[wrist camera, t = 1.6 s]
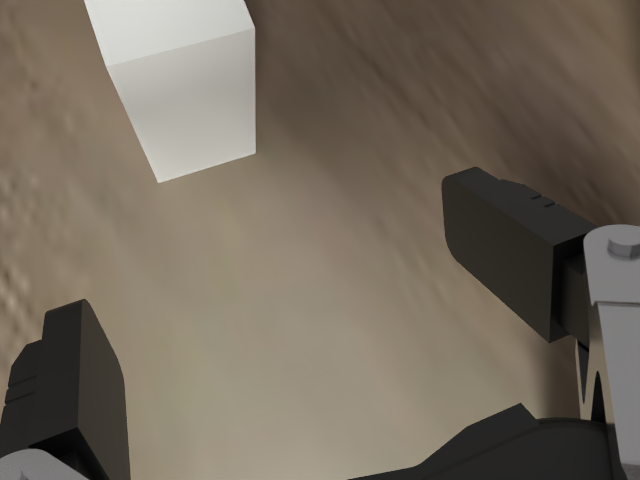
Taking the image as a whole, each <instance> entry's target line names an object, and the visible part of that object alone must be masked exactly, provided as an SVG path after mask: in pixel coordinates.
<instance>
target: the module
mask: <svg viewBox="0 0 640 480" xmlns="http://www.w3.org/2000/svg"><path fill="white" fill-rule="evenodd" d="M84 1H85V4H86V8H87V11H88V14H89V17H90V20H91V23H92V26H93V29H94V32H95V35H96V38H97V41H98V44H99V47H100V50H101V53H102V56H103V59H104V62H105V65H106V68H107V70H108V72H109V74H110V77H111V79H112V81H113V83H114V86H115V88H116V90H117V92H118V94H119V97H120V99H121V101H122V103H123V105H124V108H125V110H126V112H127V114H128V117H129V119H130V121H131V123H132V125H133V128H134V130H135V132H136V134H137V137H138V139H139V141H140V143H141V145H142V148H143V150H144V152H145V154H146V156H147V159H148V161H149V163H150V165H151V168H152V170H153V172H154V174H155V176H156V179H157V181H158V183H161V182H164V181H167V180H170V179H174V178H177V177H180V176H183V175H187V174H190V173H193V172H196V171H200V170H203V169H206V168H210V167H213V166H216V165H219V164H223V163H226V162H229V161H232V160H236V159H239V158H242V157H245V156H249V155H252V154H255V153H256V130H255V27H254V24H253V22H252V19H251V17H250V14H249V12H248V10H247V7H246V5H245V2H244V0H84Z"/></svg>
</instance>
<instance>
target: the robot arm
mask: <svg viewBox="0 0 640 480" xmlns="http://www.w3.org/2000/svg"><path fill="white" fill-rule="evenodd" d="M442 201H443V214H444V227H445V238H446V242H447V245H448V248H449V250H450V252H451V254H452V255H453V257H454V258H455V260H456V261H457V262H459V263H460V264H461V265H462V266H463V267H464V268H465V269H466V270H468V271H469V272H470V273H471V274H472V275H473V276H474V277H475V278H476V279H478V280H479V281H480V282H481V283H482V284H483V285H484V286H485V287H487V288H488V289H489V290H490V291H491V292H492V293H493V294H494V295H496V296H497V297H498V298H499V299H500V300H501V301H502V302H503V303H505V304H506V305H507V306H508V307H509V308H510V309H511V310H512V311H514V312H515V313H516V314H517V315H518V316H519V317H520V318H521V319H523V320H524V321H525V322H526V323H527V324H528V325H529V326H530V327H532V328H533V329H534V330H535V331H536V332H537V333H538V334H539V335H541V336H542V337H543V338H544V339H545V340H546V341H547V342H548V343H551V342H553V341H556V340H558V339H560V338H563V337H565V336H567V335H570V334H571V335H572V336H574V337H575V338H576V346H575V357H576V368H577V380H578V392H579V404H580V416H581V419H577V418H557V417H556V418H542V419H535V418H534V417H533V416H532V415H531V413H530V412H529V411H528V410H527V409H526V408H525V407H524V406H523V405H522V404H521V403H519V404H517V405H515V406H512V407H510V408H508V409H506V410H503V411H501V412H499V413H497V414H494V415H492V416H490V417H488V418H485V419H483V420H481V421H479V422H476V423H474V424H472V425H470V426H467V427H466V428H465V429H463V430H462V431H461V432H460V433H458V434H457V435H456V436H455V437H453V438H452V439H451V440H450V441H448V442H447V443H446V444H445V445H443V446H442V447H441V448H440V449H438V450H437V451H436V452H435V453H433V454H432V455H431V456H430V457H428V458H427V459H426V460H425V461H423V462H422V463H421V464H419V465H417V466H415V467H411V468H406V469H401V470H396V471H390V472H385V473H380V474H374V475H369V476H364V477H359V478H353V479H348V480H640V227H639V226H634V225H621V224H619V225H608V226H603V227H597V226H595V225H594V224H592V223H590V222H588V221H587V220H585V219H583V218H581V217H580V216H578V215H576V214H574V213H573V212H571V211H569V210H567V209H566V208H564V207H562V206H560V205H559V204H557V205H555V202H553V201H552V200H550V199H548V198H546V197H545V196H544V197H542V196H541V194H540V193H538V192H536V191H534V190H533V189H531V188H529V187H527V186H526V185H523V184H519V183H515V182H511V181H507V180H498V179H497V178H495V177H493V176H492V175H490V174H488V173H487V172H485V171H483V170H482V169H480V168H478V167H473V168H470V169H467V170H464V171H461V172H458V173H455V174H452V175H449V176H446V177H445V178H444V179H443V181H442ZM8 387H9V389H8V390H7V393H6V398H5V404H6V406H4V408H3V413H2V418H1V423H0V480H131V477H130V462H129V447H128V432H127V417H126V402H125V386H124V379H123V374H122V371H121V367H120V364H119V362H118V359H117V357H116V355H115V353H114V351H113V349H112V347H111V345H110V343H109V341H108V339H107V337H106V335H105V333H104V331H103V329H102V327H101V325H100V323H99V321H98V319H97V317H96V315H95V313H94V311H93V309H92V307H91V305H90V304H89V302H88V301H87V300H86V299H82V300H79V301H76V302H73V303H70V304H67V305H64V306H61V307H58V308H55V309H52V310H49V311H47V312H46V313H45V318H44V326H43V333H42V340H39V341H36V342H33V343H30V344H27V345H26V346H25V347H24V349H23V350H22V352H21V353H20V355H19V356H18V357H17V359H16V360H15V362H14V363H13V365H12V367H11V372H10V377H9V382H8Z"/></svg>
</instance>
